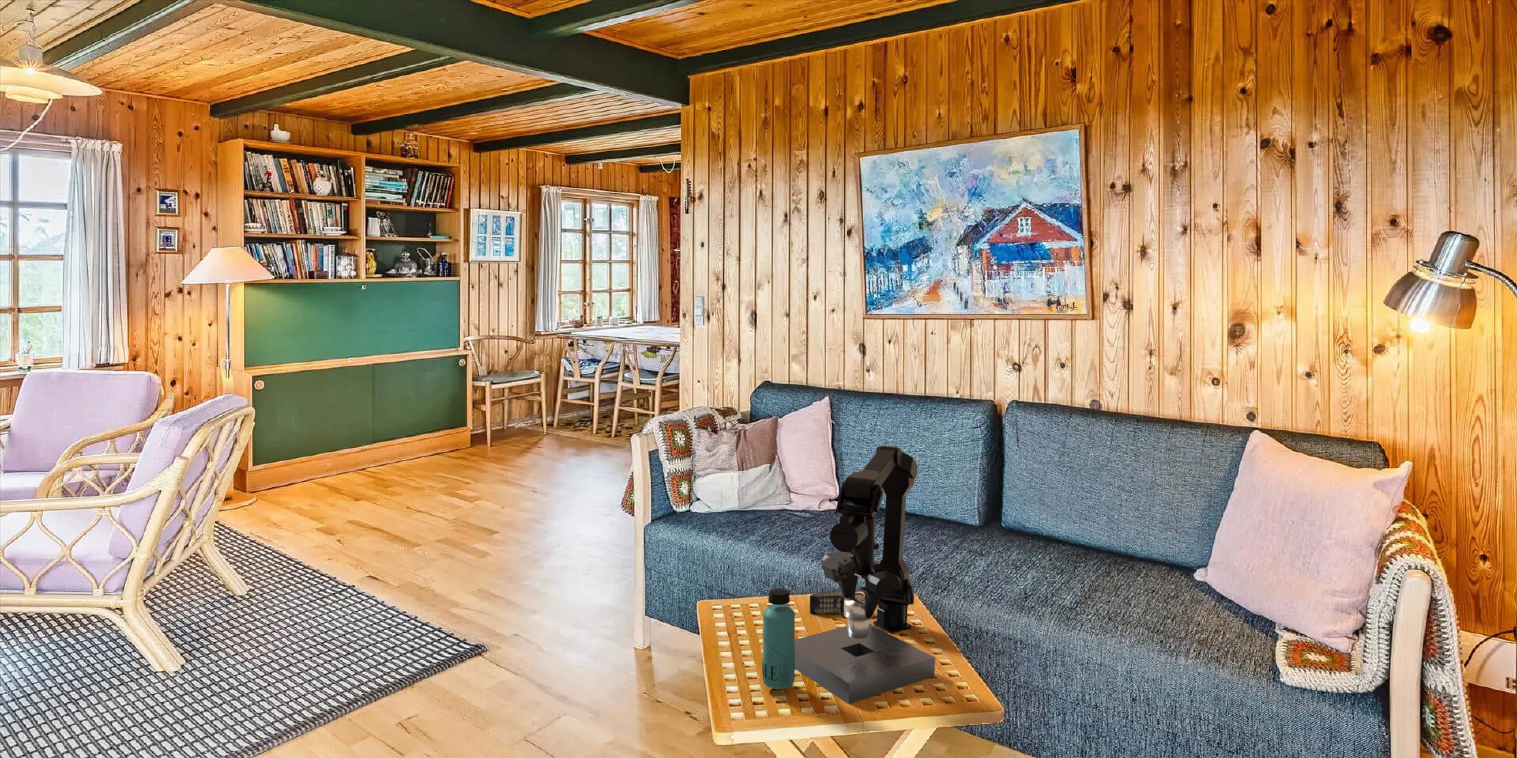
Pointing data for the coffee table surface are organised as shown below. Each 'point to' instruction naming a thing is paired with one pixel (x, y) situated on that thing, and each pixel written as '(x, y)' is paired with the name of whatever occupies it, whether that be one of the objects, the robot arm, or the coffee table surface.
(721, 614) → the coffee table surface
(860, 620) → the end cover
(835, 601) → the mobile phone
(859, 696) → the bore block
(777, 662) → the beverage bottle
